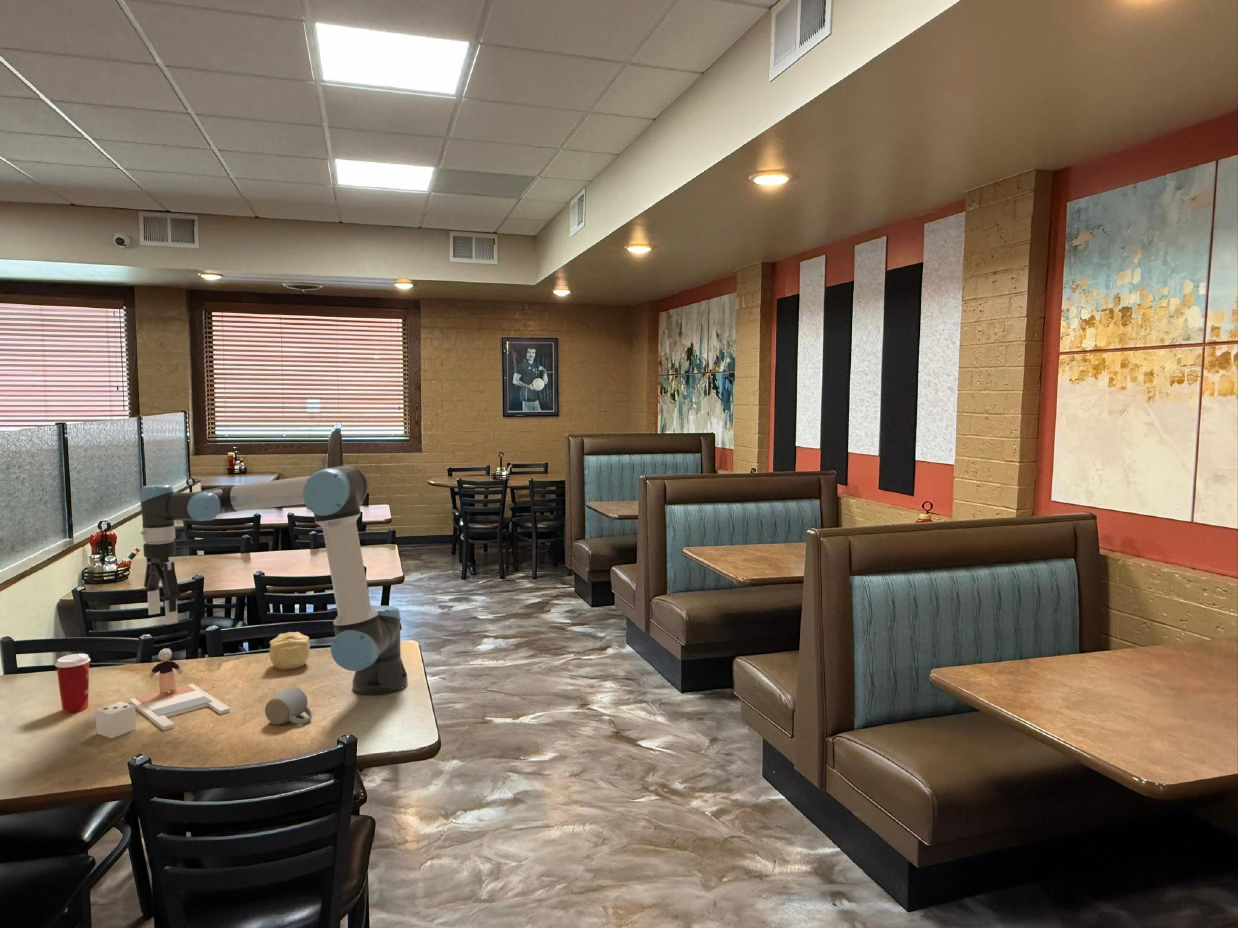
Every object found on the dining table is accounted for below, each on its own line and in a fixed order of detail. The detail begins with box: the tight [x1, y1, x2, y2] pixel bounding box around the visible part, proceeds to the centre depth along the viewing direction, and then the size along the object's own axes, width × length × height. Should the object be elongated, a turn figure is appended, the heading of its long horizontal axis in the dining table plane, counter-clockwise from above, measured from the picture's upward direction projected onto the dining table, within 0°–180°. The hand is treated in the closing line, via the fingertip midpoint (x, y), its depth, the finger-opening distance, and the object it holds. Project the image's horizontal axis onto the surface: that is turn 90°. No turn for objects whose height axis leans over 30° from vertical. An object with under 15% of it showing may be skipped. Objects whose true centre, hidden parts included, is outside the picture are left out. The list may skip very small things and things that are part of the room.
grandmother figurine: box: [149, 648, 183, 696], centre depth 215 cm, size 8×4×13 cm, turn 136°
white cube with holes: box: [95, 701, 137, 739], centre depth 194 cm, size 6×6×6 cm
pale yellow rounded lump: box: [269, 631, 311, 670], centre depth 241 cm, size 12×12×11 cm
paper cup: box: [54, 653, 91, 714], centre depth 207 cm, size 8×8×14 cm
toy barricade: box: [129, 683, 231, 731], centre depth 209 cm, size 26×16×1 cm, turn 48°
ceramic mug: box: [264, 685, 313, 726], centre depth 201 cm, size 11×8×8 cm
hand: (163, 618), depth 214 cm, fingers open, 13 cm apart
